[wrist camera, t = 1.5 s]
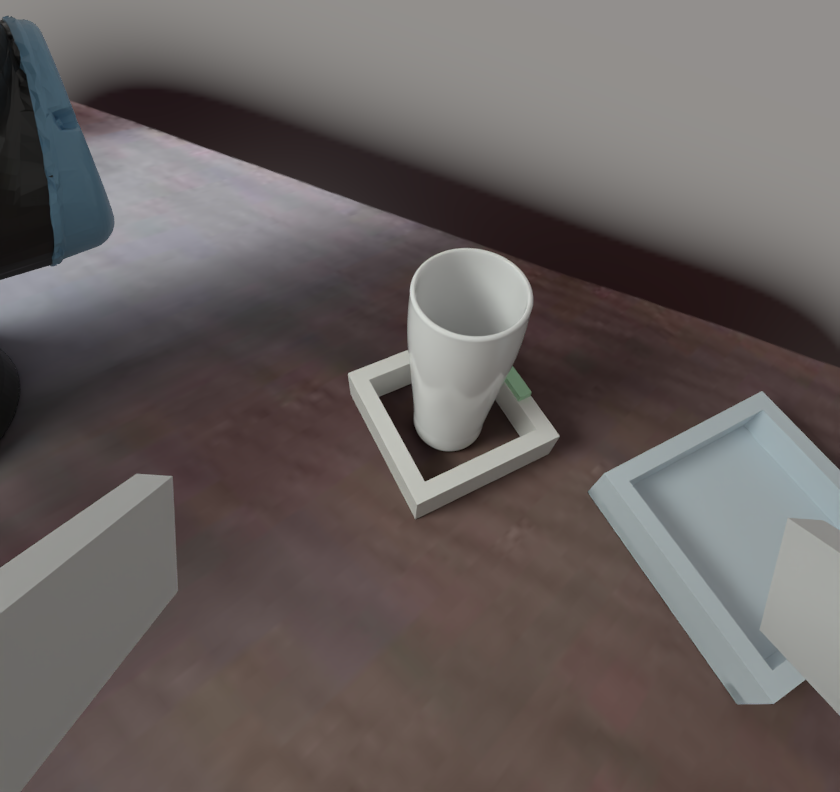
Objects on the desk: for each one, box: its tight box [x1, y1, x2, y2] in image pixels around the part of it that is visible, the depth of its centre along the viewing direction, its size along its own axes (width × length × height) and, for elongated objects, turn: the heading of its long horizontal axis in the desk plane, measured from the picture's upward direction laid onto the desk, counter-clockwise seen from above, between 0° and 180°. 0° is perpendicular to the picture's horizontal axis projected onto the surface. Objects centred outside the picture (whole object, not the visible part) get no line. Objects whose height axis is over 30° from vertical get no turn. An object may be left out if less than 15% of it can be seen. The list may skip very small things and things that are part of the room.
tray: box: [588, 391, 840, 704], centre depth 35 cm, size 15×15×4 cm
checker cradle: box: [348, 350, 560, 519], centre depth 39 cm, size 11×11×4 cm
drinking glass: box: [407, 248, 533, 451], centre depth 34 cm, size 7×7×15 cm
